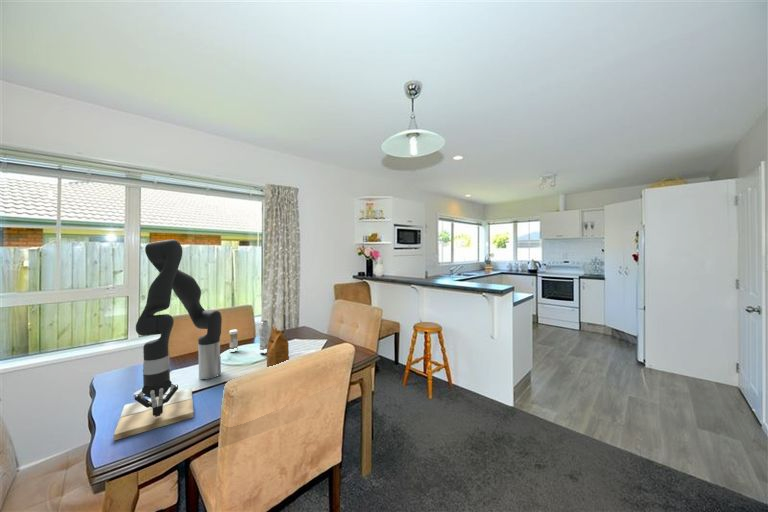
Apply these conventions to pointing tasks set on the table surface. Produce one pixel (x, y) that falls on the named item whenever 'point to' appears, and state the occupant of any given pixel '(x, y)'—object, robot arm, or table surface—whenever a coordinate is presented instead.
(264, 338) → the plastic bottle
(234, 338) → the sprinkles bottle
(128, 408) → the grey-washed plank
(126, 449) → the table surface
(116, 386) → the table surface
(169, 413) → the honey oak plank
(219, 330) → the robot arm
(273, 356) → the coffee package
